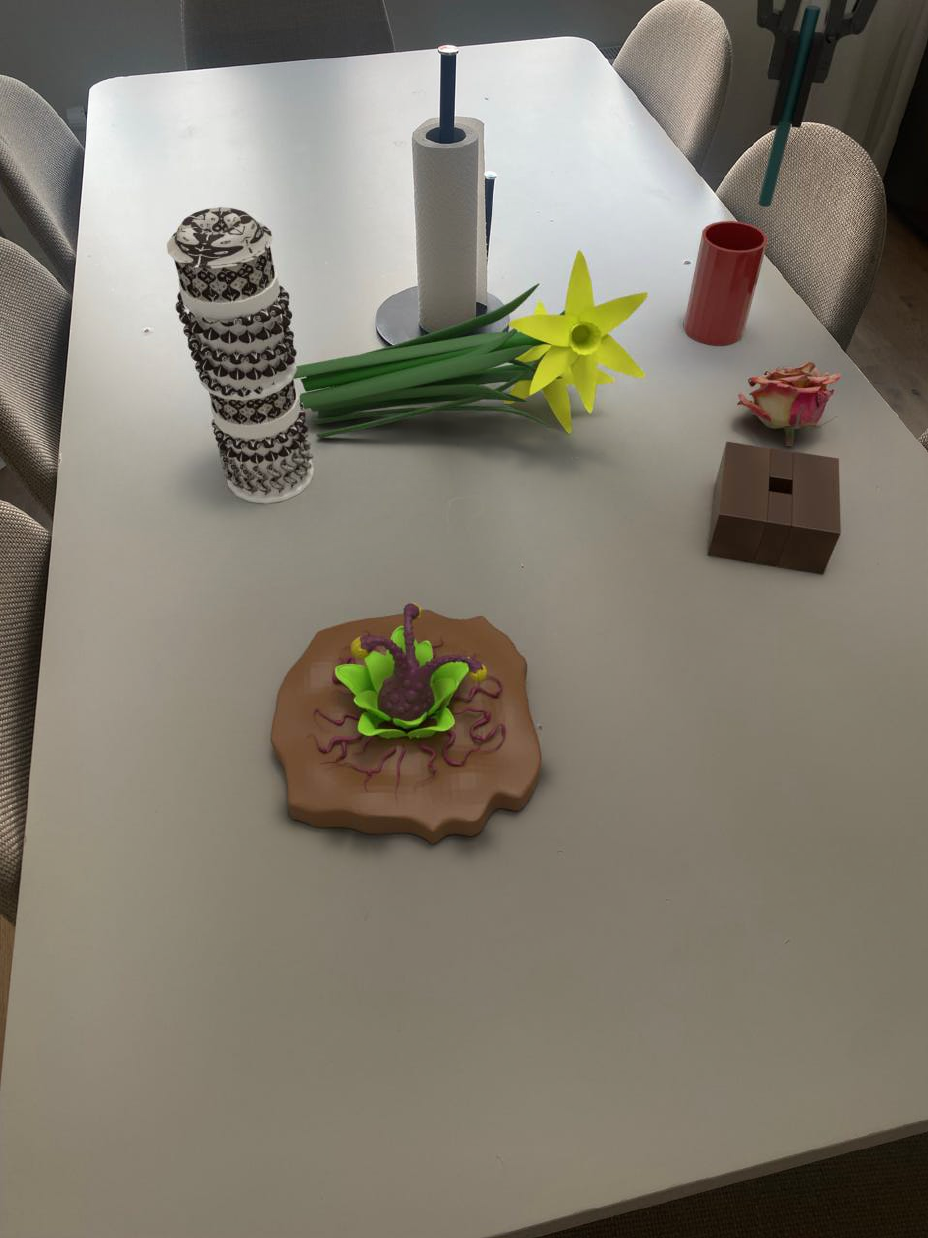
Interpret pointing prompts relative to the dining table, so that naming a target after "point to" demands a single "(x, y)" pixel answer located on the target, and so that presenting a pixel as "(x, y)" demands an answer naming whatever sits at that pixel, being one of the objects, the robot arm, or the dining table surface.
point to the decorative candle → (243, 351)
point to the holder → (776, 508)
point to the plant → (407, 726)
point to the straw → (789, 105)
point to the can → (724, 282)
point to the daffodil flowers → (481, 363)
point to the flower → (790, 398)
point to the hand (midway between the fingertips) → (785, 119)
